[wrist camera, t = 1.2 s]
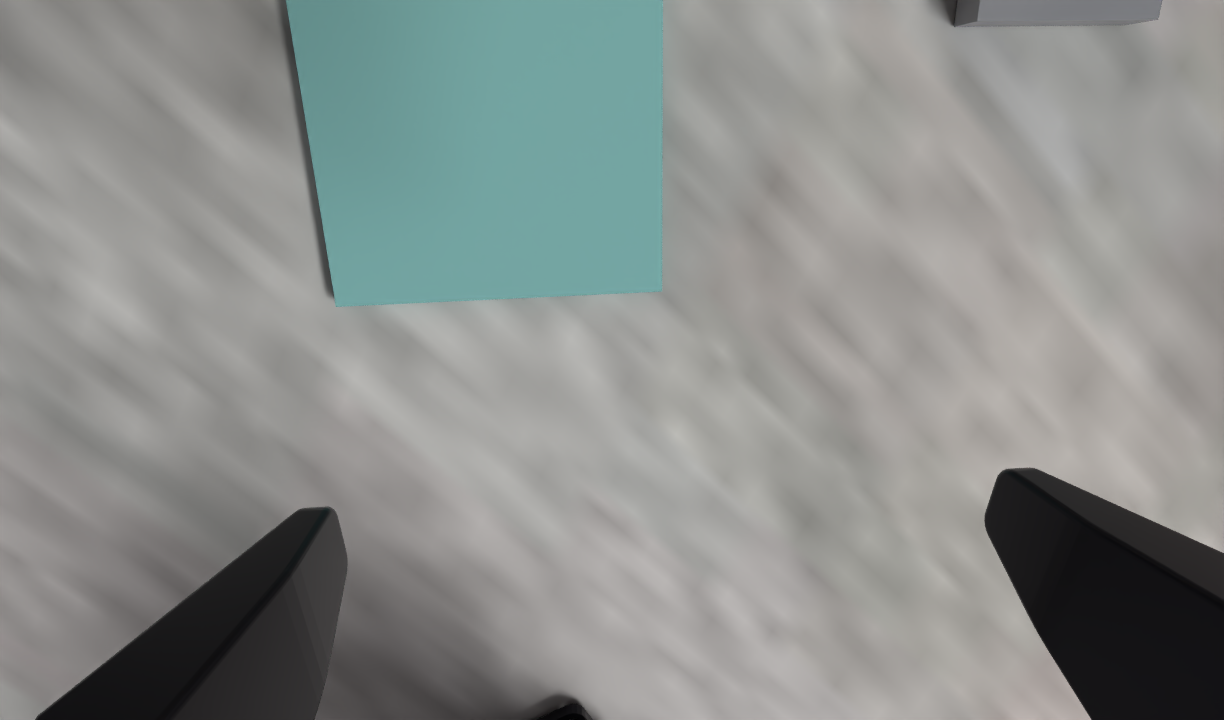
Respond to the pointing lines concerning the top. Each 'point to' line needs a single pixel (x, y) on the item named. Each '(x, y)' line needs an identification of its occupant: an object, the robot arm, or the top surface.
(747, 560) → the top surface
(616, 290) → the mat
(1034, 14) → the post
